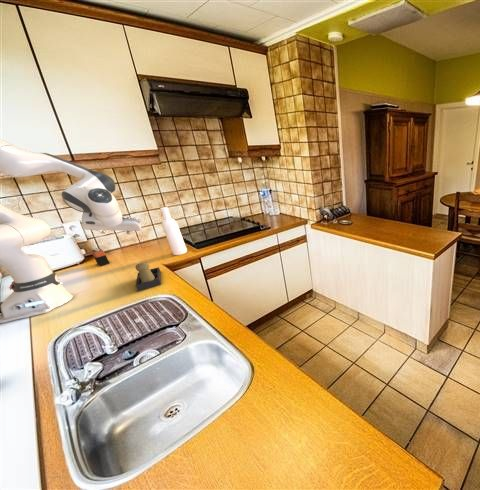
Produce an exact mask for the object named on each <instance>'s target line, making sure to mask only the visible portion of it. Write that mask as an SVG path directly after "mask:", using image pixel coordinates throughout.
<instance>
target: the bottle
mask: <svg viewBox="0 0 480 490" xmlns="http://www.w3.org/2000/svg"><path fill="white" fill-rule="evenodd" d="M159 208H160V212H161V215H162V217H163V220H162V222H161V227H162V230H163V232H164V234H165V237H166V240H167V242H168V245H169V248H170V250H171V251H170V252H171V253H172V255H173V256H180V255H183V254H186V253H187V252H188V248H187V246H186V244H185V240H184V237H183V235H182V233H181V230H180V227H179V223H178V222H177V221H176V220H175V219H174V218H172V216H171V214H170V210H169V208H168V206H164V207H159Z"/></svg>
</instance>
